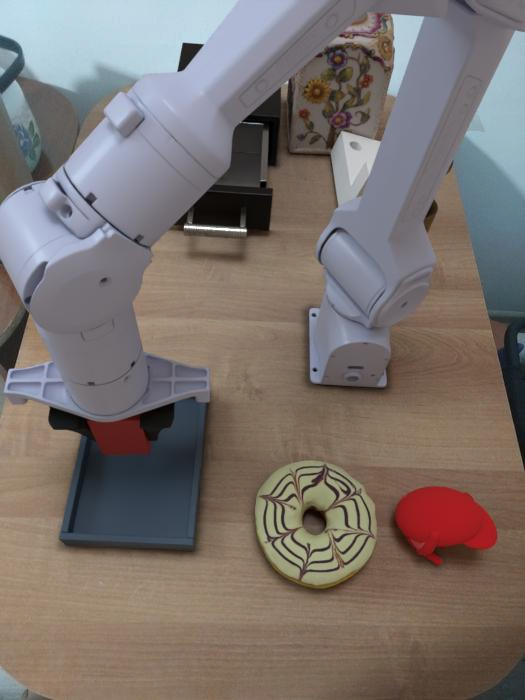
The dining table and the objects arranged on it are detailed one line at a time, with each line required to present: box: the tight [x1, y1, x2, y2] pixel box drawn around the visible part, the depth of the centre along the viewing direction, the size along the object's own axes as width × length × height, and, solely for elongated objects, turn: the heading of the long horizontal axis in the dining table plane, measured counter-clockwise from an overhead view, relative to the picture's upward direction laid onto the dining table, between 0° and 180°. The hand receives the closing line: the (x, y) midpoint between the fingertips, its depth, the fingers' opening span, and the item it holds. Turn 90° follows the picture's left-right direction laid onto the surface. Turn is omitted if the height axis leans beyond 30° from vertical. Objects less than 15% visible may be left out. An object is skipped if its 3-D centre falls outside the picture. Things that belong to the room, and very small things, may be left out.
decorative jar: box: [286, 12, 396, 156], centre depth 72 cm, size 12×12×18 cm
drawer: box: [173, 120, 274, 240], centre depth 68 cm, size 18×12×6 cm
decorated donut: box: [254, 459, 378, 589], centre depth 49 cm, size 10×11×4 cm
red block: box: [87, 413, 151, 455], centre depth 46 cm, size 4×4×7 cm
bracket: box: [330, 131, 381, 208], centre depth 71 cm, size 13×7×8 cm, turn 2°
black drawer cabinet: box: [176, 42, 282, 167], centre depth 76 cm, size 15×14×8 cm
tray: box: [58, 396, 209, 552], centre depth 52 cm, size 15×11×2 cm
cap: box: [394, 485, 499, 566], centre depth 48 cm, size 8×6×6 cm
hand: (127, 430), depth 48 cm, fingers closed on red block, 4 cm apart
